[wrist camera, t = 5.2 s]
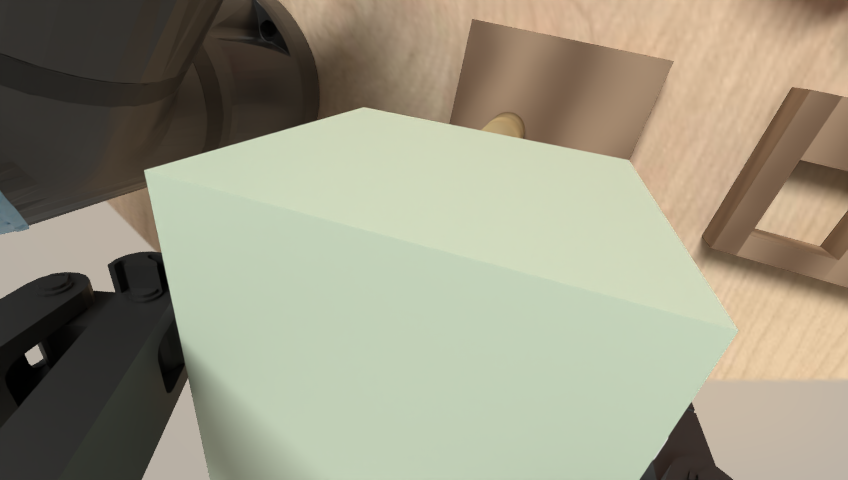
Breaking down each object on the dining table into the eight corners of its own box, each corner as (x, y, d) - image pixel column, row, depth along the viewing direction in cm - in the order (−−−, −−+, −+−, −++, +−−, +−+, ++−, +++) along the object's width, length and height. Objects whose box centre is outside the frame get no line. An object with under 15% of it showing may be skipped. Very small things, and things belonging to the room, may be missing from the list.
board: (446, 163, 31) (418, 189, 25) (478, 21, 26) (453, 11, 20) (600, 207, 29) (610, 247, 23) (665, 60, 24) (700, 62, 18)
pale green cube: (352, 306, 18) (210, 482, 11) (363, 107, 14) (143, 170, 7) (547, 368, 16) (538, 631, 9) (629, 160, 12) (739, 330, 5)
